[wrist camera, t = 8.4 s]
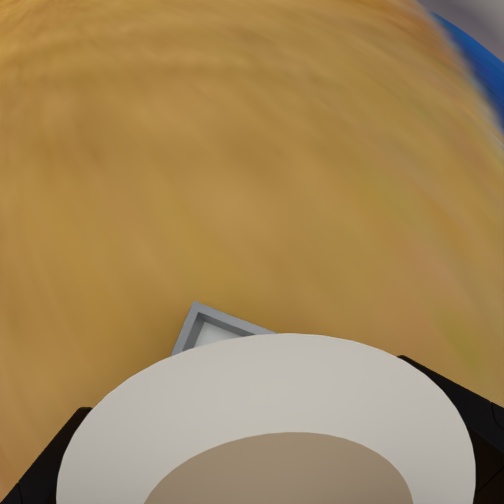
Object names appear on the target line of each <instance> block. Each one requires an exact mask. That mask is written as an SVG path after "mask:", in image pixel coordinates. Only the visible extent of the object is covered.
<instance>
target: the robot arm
mask: <svg viewBox="0 0 504 504" xmlns="http://www.w3.org/2000/svg"><path fill="white" fill-rule="evenodd" d="M397 358H399V359H402V360H404V361H406V362H407V363H409V364H410V365H412V366H413V367H415V368H416V369H418V370H419V371H421V372H422V373H424V374H425V375H426V376H427V377H428V378H430V379H431V380H432V381H433V382H434V383H435V384H436V385H437V386H438V387H439V388H440V389H441V390H443V392H444V393H445V394H446V396H447V397H448V398H449V399H450V401H451V402H452V403H453V405H454V406H455V407H456V409H457V411H458V412H459V414H460V416H461V418H462V420H463V422H464V424H465V426H466V428H467V431H468V434H469V437H470V440H471V443H472V447H473V453H474V459H475V492H474V498H473V504H504V408H503V407H501V406H499V405H497V404H495V403H493V402H490V401H489V400H487V399H485V398H483V397H481V396H479V395H478V394H476V393H474V392H472V391H470V390H468V389H466V388H464V387H462V386H460V385H459V384H457V383H455V382H453V381H451V380H449V379H447V378H445V377H443V376H442V375H440V374H438V373H436V372H434V371H432V370H430V369H428V368H427V367H425V366H423V365H421V364H419V363H417V362H415V361H413V360H412V359H410V358H408V357H406V356H404V355H400V356H397ZM92 409H93V408H91V407H80V408H79V409H78V410H77V411H76V412H75V413H74V414H73V416H72V417H71V418H70V419H69V420H68V422H67V423H66V424H65V425H64V426H63V427H62V429H61V430H60V431H59V432H58V433H57V435H56V436H55V437H54V438H53V439H52V441H51V442H50V443H49V444H48V446H47V447H46V448H45V449H44V450H43V452H42V453H41V454H40V455H39V456H38V458H37V459H36V460H35V461H34V463H33V464H32V465H31V466H30V468H29V469H28V470H27V471H26V472H25V474H24V475H23V476H22V477H21V479H20V480H19V483H17V484H16V485H15V486H14V487H13V489H12V490H11V491H10V492H9V493H8V495H7V496H6V497H5V498H4V499H3V500H2V502H1V503H0V504H57V502H56V493H57V481H58V474H59V471H60V467H61V463H62V460H63V456H64V453H65V451H66V449H67V447H68V445H69V443H70V441H71V439H72V437H73V435H74V433H75V432H76V430H77V429H78V427H79V426H80V425H81V423H82V422H83V420H84V419H85V418H86V416H87V415H88V413H89V412H90V411H91V410H92Z"/></svg>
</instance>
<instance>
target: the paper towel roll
mask: <svg viewBox="0 0 504 504" xmlns="http://www.w3.org/2000/svg"><path fill="white" fill-rule="evenodd" d="M474 492H475V459H474V453H473V447H472V443H471V440H470V437H469V434H468V431H467V428H466V426H465V424H464V422H463V420H462V418H461V416H460V414H459V412H458V411H457V409H456V407H455V406H454V405H453V403H452V402H451V401H450V399H449V398H448V397H447V396H446V394H445V393H444V392H443V390H441V389H440V388H439V387H438V386H437V385H436V384H435V383H434V382H433V381H432V380H431V379H430V378H428V377H427V376H426V375H425V374H424V373H422V372H421V371H419V370H418V369H416V368H415V367H413V366H412V365H410V364H409V363H407V362H406V361H404V360H402V359H399V358H397V357H395V356H393V355H391V354H389V353H387V352H385V351H383V350H380V349H377V348H374V347H371V346H368V345H364V344H361V343H358V342H355V341H351V340H345V339H340V338H334V337H329V336H323V335H308V334H293V333H285V334H265V335H252V336H246V337H240V338H234V339H227V340H221V341H218V342H214V343H210V344H207V345H203V346H199V347H196V348H192V349H188V350H186V351H184V352H181V353H179V354H176V355H174V356H171V357H169V358H166V359H164V360H161V361H159V362H157V363H155V364H153V365H151V366H150V367H148V368H146V369H144V370H142V371H140V372H139V373H137V374H135V375H133V376H131V377H130V378H129V379H127V380H126V381H125V382H123V383H122V384H121V385H119V386H118V387H117V388H115V389H114V390H112V391H111V392H110V393H108V394H107V395H106V396H105V397H104V398H103V399H102V400H101V401H100V402H99V403H98V404H97V405H96V406H95V407H94V408H93V409H92V410H91V411H90V412H89V413H88V415H87V416H86V418H85V419H84V420H83V422H82V423H81V425H80V426H79V427H78V429H77V430H76V432H75V433H74V435H73V437H72V439H71V441H70V443H69V445H68V447H67V449H66V451H65V453H64V456H63V460H62V463H61V467H60V471H59V474H58V481H57V493H56V502H57V504H473V498H474Z"/></svg>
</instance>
